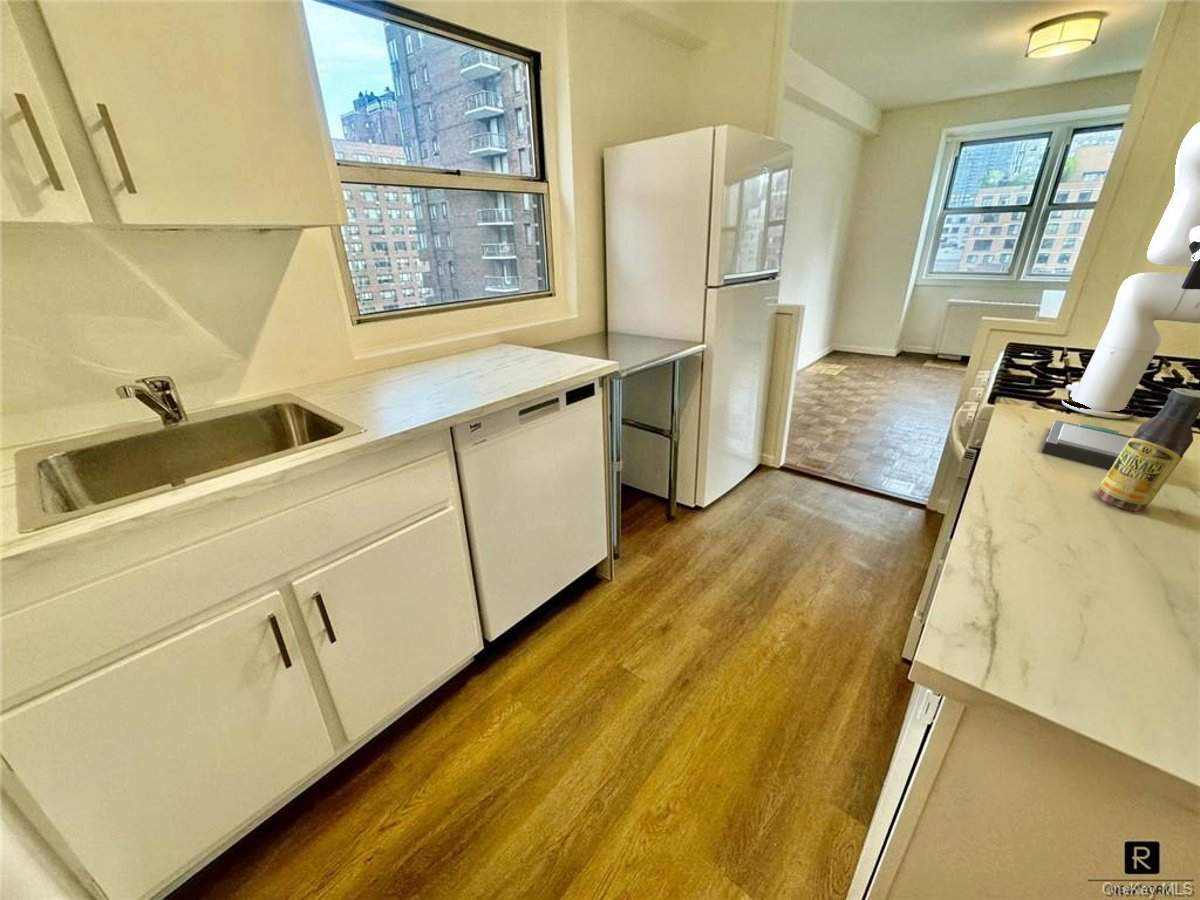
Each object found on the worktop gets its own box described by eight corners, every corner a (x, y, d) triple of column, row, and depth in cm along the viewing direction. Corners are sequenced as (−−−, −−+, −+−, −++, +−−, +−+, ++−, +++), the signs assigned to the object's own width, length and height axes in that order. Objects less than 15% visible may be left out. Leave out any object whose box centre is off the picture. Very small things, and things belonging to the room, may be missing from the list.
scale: (1050, 429, 107) (1056, 416, 106) (1138, 449, 99) (1146, 435, 97) (1041, 452, 97) (1048, 438, 96) (1138, 477, 88) (1148, 462, 87)
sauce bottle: (1086, 497, 82) (1147, 387, 73) (1106, 489, 85) (1168, 381, 75) (1136, 517, 77) (1209, 401, 68) (1156, 509, 79) (1229, 395, 70)
